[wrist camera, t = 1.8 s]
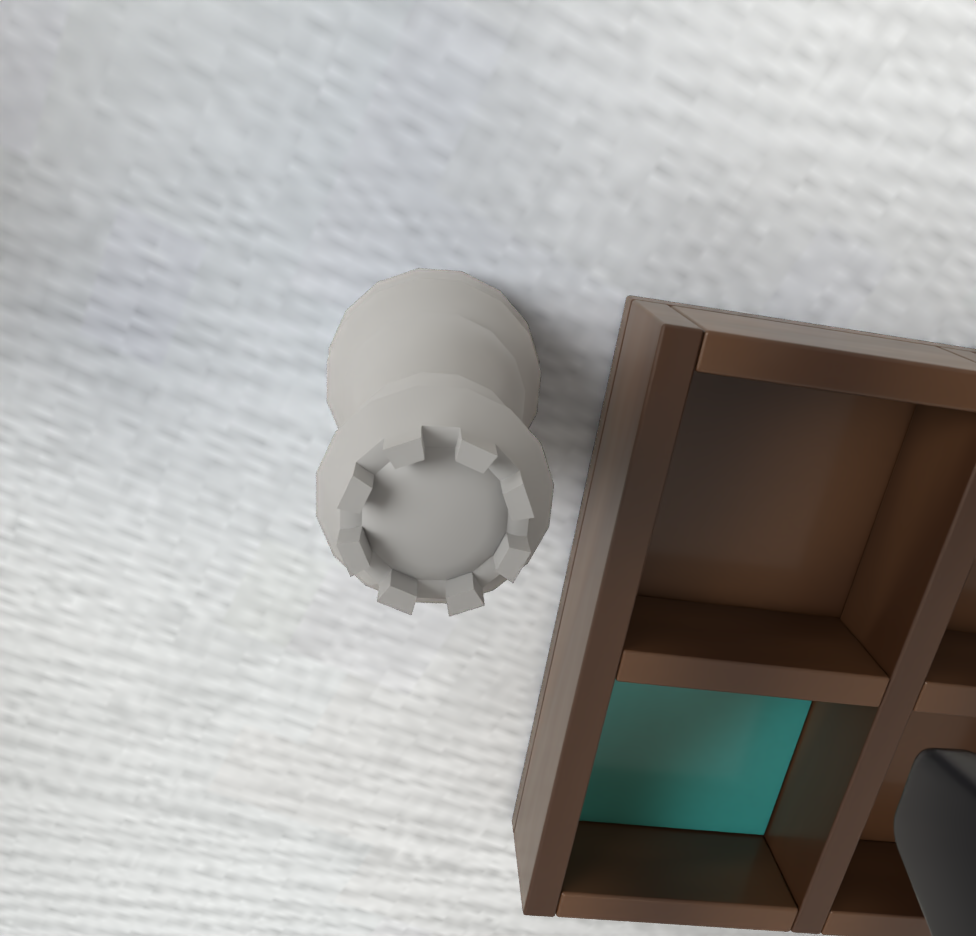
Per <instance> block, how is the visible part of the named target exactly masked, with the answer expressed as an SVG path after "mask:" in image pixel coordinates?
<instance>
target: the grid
mask: <svg viewBox="0 0 976 936" xmlns="http://www.w3.org/2000/svg"><path fill="white" fill-rule="evenodd" d="M927 748H954V749H965V750H969V751H972V752H974V753H976V349H972V348H965V347H959V346H952V345H946V344H939V343H933V342H927V341H920V340H914V339H907V338H901V337H894V336H888V335H881V334H875V333H869V332H862V331H856V330H849V329H843V328H836V327H830V326H823V325H817V324H811V323H804V322H798V321H791V320H785V319H778V318H772V317H765V316H759V315H753V314H746V313H740V312H733V311H727V310H720V309H714V308H707V307H701V306H695V305H688V304H682V303H675V302H669V301H662V300H656V299H650V298H643V297H637V296H627V298H626V302H625V307H624V311H623V316H622V321H621V325H620V330H619V334H618V339H617V343H616V348H615V353H614V357H613V362H612V366H611V371H610V375H609V380H608V385H607V389H606V394H605V398H604V403H603V407H602V412H601V417H600V421H599V426H598V430H597V435H596V439H595V444H594V449H593V453H592V458H591V462H590V467H589V471H588V476H587V481H586V485H585V490H584V494H583V499H582V503H581V508H580V513H579V517H578V522H577V526H576V531H575V535H574V540H573V545H572V549H571V554H570V558H569V563H568V567H567V572H566V576H565V581H564V586H563V590H562V595H561V599H560V604H559V608H558V613H557V618H556V622H555V627H554V631H553V636H552V640H551V645H550V650H549V654H548V659H547V663H546V668H545V672H544V677H543V682H542V686H541V691H540V695H539V700H538V704H537V709H536V714H535V718H534V723H533V727H532V732H531V736H530V741H529V746H528V750H527V755H526V759H525V764H524V768H523V773H522V778H521V782H520V787H519V791H518V796H517V800H516V805H515V810H514V814H513V819H512V825H513V833H514V841H515V850H516V858H517V867H518V875H519V884H520V892H521V901H522V909H523V914H524V915H532V916H548V917H553V916H555V913H556V915H557V916H558V917H568V918H584V919H599V920H615V921H630V922H645V923H661V924H676V925H692V926H707V927H722V928H738V929H753V930H769V931H784V932H788V931H790V930H791V931H792V932H795V933H811V934H820V933H822V934H823V935H837V936H932V935H931V933H930V930H929V928H928V925H927V922H926V920H925V917H924V915H923V912H922V910H921V907H920V905H919V902H918V899H917V897H916V894H915V892H914V889H913V887H912V884H911V882H910V879H909V876H908V874H907V871H906V869H905V866H904V864H903V861H902V859H901V856H900V853H899V851H898V848H897V845H896V842H895V837H894V827H893V825H894V816H895V812H896V809H897V807H898V804H899V801H900V798H901V795H902V793H903V790H904V787H905V784H906V781H907V779H908V776H909V773H910V770H911V767H912V764H913V762H914V759H915V757H916V756H917V755H918V754H919V753H920V752H921V751H922V750H924V749H927Z"/></svg>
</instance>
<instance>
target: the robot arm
mask: <svg viewBox="0 0 976 936" xmlns="http://www.w3.org/2000/svg"><path fill="white" fill-rule="evenodd" d="M893 827H894V837H895V842H896V845H897V848H898V851H899V853H900V856H901V859H902V861H903V864H904V866H905V869H906V871H907V874H908V876H909V879H910V882H911V884H912V887H913V889H914V892H915V894H916V897H917V899H918V902H919V905H920V907H921V910H922V912H923V915H924V917H925V920H926V922H927V925H928V928H929V930H930V933H931V935H932V936H976V753H974V752H972V751H969V750H965V749H954V748H927V749H924V750H922V751H921V752H920V753H919V754H918V755H917V756H916V757H915V759H914V762H913V764H912V767H911V770H910V773H909V776H908V779H907V781H906V784H905V787H904V790H903V793H902V795H901V798H900V801H899V804H898V807H897V809H896V812H895V816H894V825H893Z"/></svg>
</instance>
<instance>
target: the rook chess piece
mask: <svg viewBox="0 0 976 936" xmlns="http://www.w3.org/2000/svg"><path fill="white" fill-rule="evenodd" d="M540 379H541V371H540V368H539V359H538V356H537V353H536V349H535V346H534V343H533V340H532V336H531V333H530V330H529V327H528V323H527V322H526V321H525V320H524V318H523V317H522V316H521V315H520V314H519V312H518V311H517V310H516V309H515V308H514V307H513V305H512V304H511V303H510V302H509V301H508V299H507V298H506V297H505V296H504V295H503V293H502V292H501V291H500V290H498V289H496V288H494V287H492V286H490V285H488V284H486V283H484V282H482V281H480V280H478V279H476V278H474V277H472V276H470V275H468V274H466V273H464V272H462V271H451V270H437V269H423V268H417V269H415V270H412V271H409V272H406V273H403V274H400V275H397V276H394V277H391V278H388V279H385V280H382V281H379V282H377V283H376V284H375V285H374V286H373V287H371V288H370V289H369V290H368V291H367V292H366V293H365V294H364V295H363V296H362V297H360V298H359V299H358V300H357V301H356V302H355V303H354V304H353V305H352V306H350V307H349V308H348V309H347V310H346V311H345V314H344V316H343V318H342V320H341V322H340V325H339V327H338V329H337V331H336V334H335V336H334V338H333V340H332V342H331V345H330V347H329V357H328V359H327V403H328V406H329V408H330V410H331V413H332V415H333V418H334V420H335V422H336V425H337V427H338V430H337V431H336V432H335V434H334V436H333V438H332V440H331V442H330V445H329V447H328V449H327V451H326V453H325V455H324V457H323V460H322V462H321V464H320V466H319V468H318V470H317V472H316V517H317V519H318V522H319V524H320V526H321V528H322V530H323V533H324V535H325V537H326V539H327V542H328V544H329V546H330V548H331V551H332V553H333V555H334V556H335V557H336V558H337V559H338V560H339V561H340V562H341V563H342V564H343V565H344V566H345V567H346V568H347V570H348V572H349V574H350V577H351V576H353V575H355V576H356V577H357V578H358V579H359V580H360V581H361V582H362V583H364V584H365V585H366V586H368V587H371V588H373V589H376V590H378V598H377V602H380V603H382V604H385V605H387V606H390V607H392V608H395V609H397V610H400V611H402V612H404V613H407V614H409V615H412V612H413V608H414V605H415V602H421V603H447V607H448V614H449V616H453V615H456V614H459V613H462V612H465V611H468V610H472V609H475V608H478V607H481V606H484V597H483V593H486V592H490V591H493V590H494V589H496V588H497V587H498V586H500V585H501V584H502V583H503V582H505V581H506V580H507V579H508V580H509V581H511V582H512V583H514V581H515V579H516V577H517V576H518V574H519V572H520V570H521V569H522V568H523V567H524V566H525V565H526V564H528V562H529V560H530V559H531V557H532V555H533V553H534V552H535V550H536V548H537V547H538V545H539V543H540V541H541V540H542V538H543V536H544V535H545V533H546V531H547V529H548V528H549V523H550V514H551V506H552V497H553V489H554V483H553V480H552V477H551V474H550V471H549V467H548V464H547V461H546V458H545V455H544V452H543V449H542V445H541V443H540V442H539V441H538V439H537V438H536V437H535V436H534V435H533V434H532V433H531V432H530V430H529V427H530V425H531V423H532V421H533V420H534V418H535V416H536V414H537V408H538V398H539V389H540Z"/></svg>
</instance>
